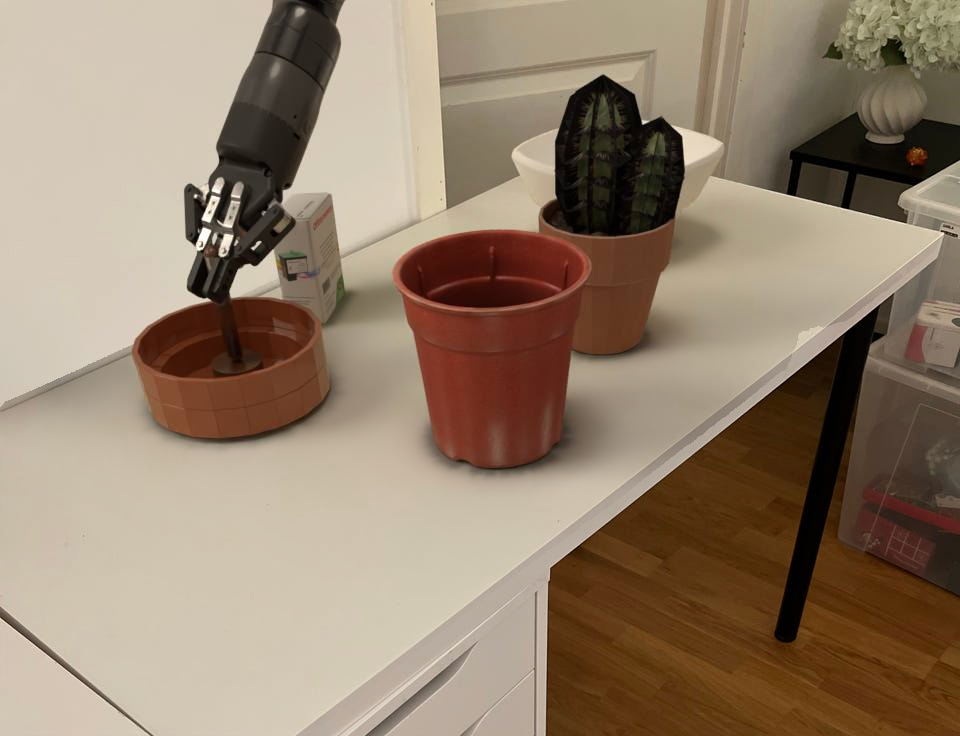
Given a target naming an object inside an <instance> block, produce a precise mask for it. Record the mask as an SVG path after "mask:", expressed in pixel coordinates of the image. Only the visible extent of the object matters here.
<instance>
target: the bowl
mask: <svg viewBox="0 0 960 736" xmlns="http://www.w3.org/2000/svg"><path fill="white" fill-rule="evenodd" d="M641 120H642V124H645V123H647V122H650V121H651V120H645V119H641ZM670 125H671V126H672V127H673V128H674V129H675V130H676V131H677V132H678V133H679V134H681V135H682V138H683V151H684V164H685V174H684V177H685V179H684V180H683V184H682V188H681V192H680V198H679V200H678V204H677V209H676V219H675V223H676V222H677V220H678V218H679V216H680V215H681V213H682V211H683V210H684V209H686V208H687V207H689V206H690V205H692V204H694V203H695V201H696V200H697V199H698V198H699V196H700V194H701V193H702V191H703V190H704V187H705V186H706V184H707V182H708V181H709V179H710V178H711V176H712V174H713V172H714V171H715V169H716V167H717V166H718V163H719V162H720V160H721V159H722V157H723V155H724V153H725V144H724V142H722V141H721V140H719V139H716V138H715V137H713V136H711V135H707V134H704V133H701V132H698V131H695V130H691V129H687V128H684V127H680V126H676V125H672V124H670ZM559 128H560V127H559ZM559 128H555V129H552V130H550V131H547V132H544V133H542V134H539V135H537V136H534V137H532V138H530V139H528V140H526V141H523V142H521V143H520V144H519V145H517V146H516V147H515V148H513V150H512V151H511V152H512V153H511V160H512V162H513V163H514V165H515V167H516V170H517V172H518V173H519V176H520V178H521V180H522V182H523V184H524V186H525V188H526V190H527V193H528V194H529V196H530V198H531V200H532V202H533V203H534V204H535V205H536V206H538V207H539V208H540V209H541V208H542V207H543V206H544V205H545V204H546V203H548V202H549V201H551V200H553V199H555V198H557V197H556V195H555V171H554V170H555V146H554V145H555V140H556V137H557V134H558V131H559Z"/></svg>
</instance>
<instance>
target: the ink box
mask: <svg viewBox="0 0 960 736" xmlns="http://www.w3.org/2000/svg"><path fill="white" fill-rule="evenodd" d="M281 205H282V206H283V207H284V209H285V210H286V211H287V212H288V213H289V214H290V215H291V216H292V217H293V218H294V219H295V220H296V224H295V227H294V228H293V229H292V230H291V231H290V232H289V233H288V234H287V235H286V236H285V237H284V238H283V239H282V241H281V242H280V243H279V244H278V245H277V246H276V247H275V248H274V249H273V254H274V259H275V264H276V270H277V275H278V280H279V285H280V291H281V296H282V300H287V301H292V302H295V303H298V304H300V305H302V306H304V307H306V308H308V309H310V310H312V312H313V313H314V314H315V315H316V316H317V317H318V318H319V319H320V321H321V324H326V323H327V321H328V320H329V319H330V317H331V316H332V314H333V312H334V311H335V309H336V308H337V307H338V305H339V304H340V302H341V300H342V299H343V297H344V296H345V294H346V287H345V281H344V273H343V266H342V260H341V259H342V258H341V254H340V253H341V252H340V245H339V237H338V231H337V223H336V215H335V210H334V209H335V208H334V202H333V195H332V193H329V192H305V193H304V192H303V193H291V194H290V195H289V196H288V197H287V199H286V200H285V201H284V202H282V204H281Z"/></svg>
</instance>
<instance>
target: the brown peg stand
mask: <svg viewBox="0 0 960 736" xmlns="http://www.w3.org/2000/svg"><path fill="white" fill-rule="evenodd" d="M215 257H218V258H220V256H219V249H218V248H217V247H216V246H213V245H210V246H208V247H206V248H205V250H204V258H205V263H206V267H207V271H208V274H209V272H210V269H211V267H212V264H213V261H214V259H215ZM231 298H232V296H231V292H230V291H229V294H228V296H227V297H226V298H225V299H224V301H223V303H221V304H218V303H215V305H216V310H217V314H218V318H219V323H220V327H221V331H222V335H223V340H224V344H225V348H226V352H224V353H222V354H220V355H218V356H216V357H215V358H214V359H213V360H212V362H211V367H212V371H213V375H214V378H221V377H231V376H239V375H242V374H246V373H250V372H254V371H258V370H262V369H265V368H264V363H263V358H262V356H261V354H260V353H258V352H256V351H254V350H248V349H242V346H241V341H240V337H239V332H238V328H237V323H236V319H235V314H234V310H233V305H232V301H231Z"/></svg>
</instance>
